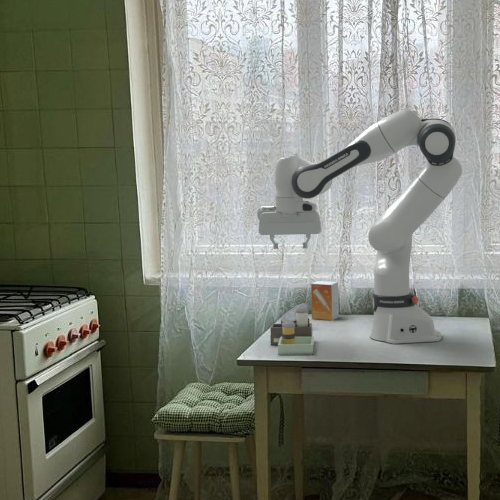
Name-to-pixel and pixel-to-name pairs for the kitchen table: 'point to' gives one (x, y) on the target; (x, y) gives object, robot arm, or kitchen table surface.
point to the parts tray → (296, 346)
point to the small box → (325, 300)
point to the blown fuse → (288, 332)
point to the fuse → (302, 316)
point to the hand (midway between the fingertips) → (290, 248)
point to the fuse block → (299, 332)
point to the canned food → (292, 314)
